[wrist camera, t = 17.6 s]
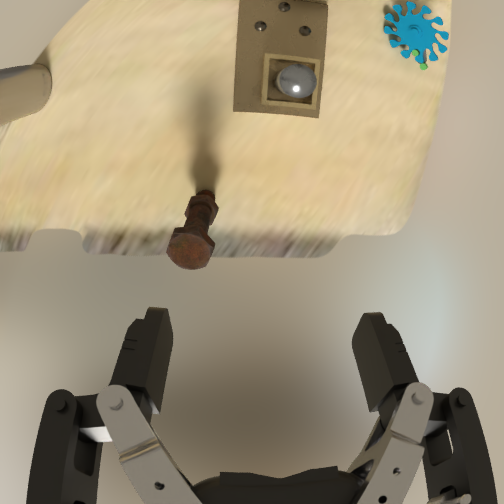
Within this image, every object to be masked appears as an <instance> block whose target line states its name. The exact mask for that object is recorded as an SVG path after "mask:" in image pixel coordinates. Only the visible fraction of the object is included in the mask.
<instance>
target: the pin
mask: <svg viewBox="0 0 504 504" xmlns="http://www.w3.org/2000/svg"><path fill="white" fill-rule="evenodd" d="M316 85H317V79H316V75H315V73H314V72H313V71H312V70H311V69H310V68H309V67H307V66H305V65H302V64H293V65H290V66H288V67H286V68H284V69H283V70H281V71H279V72H278V73H277V74H276V75H275V77H274V86H275V88H276V89H277V90H278V91H279V92H281V93H284V94H286V95H289V96H292V97H295V98H304V97H307V96H309V95H310V94H312V93H313V91H314V90H315V88H316Z"/></svg>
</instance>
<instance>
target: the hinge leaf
mask: <svg viewBox="0 0 504 504" xmlns="http://www.w3.org/2000/svg"><path fill="white" fill-rule="evenodd" d="M327 17H328V5H325V4H320V3H314V2H308V1H302V0H240V3H239V17H238V32H237V49H236V66H235V86H234V107H233V112H257V113H272V114H284V115H295V116H304V117H312V118H319V109H320V100H321V90H322V80H323V70H324V58H325V46H326V32H327ZM293 64H302V65H305V66H307V67H309V68H310V69H311V70H312V71H313V72H314V73H315V75H316V79H317V85H316V88H315V90H314V91H313V93H312V94H310V95H309V96H307V97H304V98H295V97H292V96H289V95H286V94H284V93H281V92H279V91H278V90H277V89H276V88H275V86H274V77H275V75H276V74H277V73H278V72H279V71H281V70H283V69H284V68H286V67H288V66H290V65H293Z"/></svg>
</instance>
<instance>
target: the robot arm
mask: <svg viewBox="0 0 504 504" xmlns="http://www.w3.org/2000/svg"><path fill="white" fill-rule="evenodd" d="M51 86H52V81H51V76H50V73H49V71H48V69H47V68H46V67H45V66H43V65H41V64H33V65H25V66H17V67H11V68H5V69H0V126H2V125H5V124H7V123H9V122H12V121H14V120H17V119H20V118H22V117H25V116H28V115H31V114H33V113H36V112H38V111H40V110H41V109H42V108H43V107H44V106H45V104H46V103H47V101H48V99H49V96H50V93H51ZM172 346H173V332H172V326H171V322H170V317H169V313H168V309H167V308H157V307H149V308H148V309H147V312H146V315H145V318H144V319H136V320H135V321H134V322H133V323H132V324H131V325H130V326H129V328H128V330H127V333H126V335H125V340H124V341H123V344H122V349H121V350H120V354H119V356H118V360H117V363H116V366H115V369H114V372H113V376H112V379H111V382H110V384H109V385H108V386H107V387H105V388H104V389H102V390H101V391H100V393H98V394H95V395H87V396H74V395H73V394H72V393H71V392H69V391H67V390H64V389H60V390H56V391H54V392H52V393H51V394H50V395H49V397H48V398H47V401H46V404H45V407H44V411H43V415H42V418H41V422H40V426H39V430H38V435H37V439H36V444H35V448H34V453H33V458H32V464H31V470H30V476H29V483H28V491H27V500H26V504H96V501H97V488H98V478H99V468H100V460H101V453H102V446H103V442H108V441H113V443H114V445H115V447H116V449H117V451H118V453H119V456H120V458H119V460H120V463H121V465H122V467H123V469H124V471H125V473H126V475H127V476H128V478H129V480H130V481H131V483H132V485H133V486H134V488H135V489H136V491H137V493H138V494H139V496H140V497H141V499H142V500H143V502H144V503H145V504H402V502H403V500H404V498H405V496H406V494H407V492H408V490H409V488H410V485H411V483H412V481H413V478H414V476H415V474H416V472H417V469H418V467H419V464H420V461H421V459H423V464H424V470H425V477H426V483H427V489H428V498H429V501H428V502H427V504H498V503H497V495H496V489H495V483H494V477H493V472H492V467H491V462H490V457H489V453H488V449H487V445H486V442H485V437H484V434H483V430H482V427H481V424H480V420H479V417H478V414H477V411H476V407H475V405H474V402H473V399H472V397H471V394H470V393H469V392H468V391H467V390H466V389H464V388H455V389H453V390H452V391H451V392H450V393H449V394H443V393H434V392H432V391H431V390H430V388H429V387H428V386H426V385H425V384H423V383H420V382H419V380H418V378H417V376H416V373H415V370H414V368H413V365H412V363H411V360H410V358H409V355H408V353H407V352H406V348H405V346H404V344H403V341H402V338H401V336H400V334H399V332H398V331H397V330H396V329H395V328H394V326H392V324H387V323H386V320H385V318H384V316H383V314H382V313H381V312H376V313H375V312H374V313H364V314H363V315H362V317H361V319H360V322H359V324H358V326H357V328H356V330H355V332H354V335H353V338H352V349H353V352H354V356H355V359H356V362H357V366H358V370H359V373H360V377H361V381H362V385H363V388H364V392H365V396H366V400H367V404H368V408H369V412H375V411H379V414H380V416H379V417H378V419H377V421H376V423H375V425H374V427H373V429H372V431H371V433H370V435H369V437H368V439H367V441H366V443H365V445H364V447H363V449H362V451H361V452H360V454H359V455H358V456H357V458H356V459H355V460H354V461H353V462H352V464H351V465H350V467H349V468H348V470H347V472H344V471H338V467H337V466H333V467H326V468H319V469H310V470H307V471H304V472H301V473H298V474H295V475H292V476H289V477H285V478H274V477H268V476H263V475H258V474H253V473H234V472H220V476H216V477H212V478H208V479H206V480H203V481H201V482H199V483H197V484H195V485H194V486H193V485H192V483H191V482H190V481H189V480H188V478H187V477H186V476H185V474H184V473H183V472H182V470H181V469H180V468H179V466H178V465H177V463H176V462H175V461H174V459H173V458H172V457H171V455H170V454H169V452H168V451H167V449H166V448H165V446H164V444H163V443H162V441H161V440H160V438H159V437H158V435H157V434H156V432H155V430H154V428H153V427H152V425H151V424H150V422H151V416H152V413H154V414H160V411H161V405H162V399H163V393H164V388H165V382H166V377H167V371H168V366H169V361H170V356H171V351H172ZM448 429H449V433H450V437H451V441H452V446H453V454H452V449H451V445H450V441H449V436H448V432H447V430H448Z"/></svg>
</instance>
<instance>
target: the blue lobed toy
mask: <svg viewBox="0 0 504 504" xmlns="http://www.w3.org/2000/svg"><path fill="white" fill-rule="evenodd" d="M406 5H407V7H408V12H407V15H406V16H403V15H402V14H401V11H402V6H401V5H394V6H393V9H394V10H395V11H396V12H397V13H398V15H399V22H396V21H395V20H394V16H393V15H392V14H390V13H388V14H386V16H385V17H384V18H385V19H386V20H388V21H391V22H392V23H393V24H395V26H396V27H397V29H398V30H397V31H396V32H395V31H393V29H392V28H391V27H389V26H385V28H384V32H385V33H386V34H395V35H397V36H399V37H400V38H401V41H400V42H398V41H396V40H390V44H391V46H392V47H393V48H395V47H397V46H399V45H401V44H406V45H408V46H409V50H403V51H401V55H402V56H403V57H405V58H409V57H410V53H411V52H412V54H413V55H414V56H416V57H415V60H416V61H417V62H418V63H420V68H421V69H422V70H426V69H427V68H428V66H427V64H426V61H427V58H426V48H427V49H429V50H430V51H431V53H430V55H429V59H430V61H436V60H438V57H437V55H436V54H435V53H434V51H433V46H432V44H433V43H437V44H438V48H439V51H440V52H441V53H444V52H445V51H446V50H447V47H446V46H444V45H442V44H441V43H439V41H438V40H437V39H436V37H435V34H436V33H439V34H440V35H441V37H442V38H443V39H445V40H447V39H448V36H449V34H448V33H447V32H444V31H443V32H442V31H438V30H436V29H434V28H433V27H432V26H431V23H433V22H435V23H437V24H438V25H443V21H442V19H441V18H440V17H436V18H434V19H432V20H426V19H424V18H423V14H430V13H431V10H430V9H429V8H428V7H427V6H425V5H424V6H422V10H421V12H420V13H418V14H416V15H413V14H412V10H413V9H415V8H416V4H414V3H412V2H409V1H407V3H406Z"/></svg>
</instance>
